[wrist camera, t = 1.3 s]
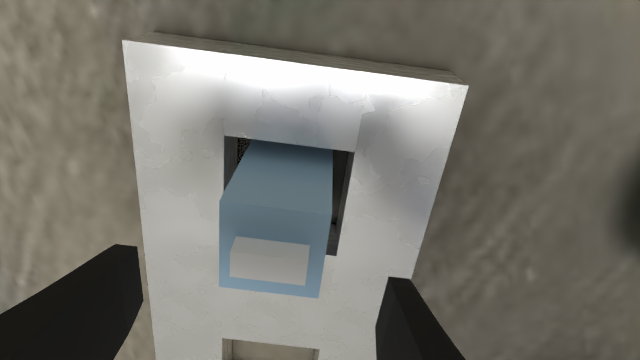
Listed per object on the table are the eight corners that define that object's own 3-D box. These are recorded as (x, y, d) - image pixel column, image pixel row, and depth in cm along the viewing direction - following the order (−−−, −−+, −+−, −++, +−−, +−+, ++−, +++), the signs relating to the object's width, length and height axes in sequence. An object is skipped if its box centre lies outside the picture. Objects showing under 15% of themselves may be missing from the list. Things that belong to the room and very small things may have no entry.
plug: (333, 142, 17) (331, 229, 11) (323, 209, 19) (317, 316, 13) (255, 132, 17) (211, 214, 11) (252, 200, 19) (212, 303, 13)
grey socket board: (449, 71, 16) (468, 85, 13) (358, 405, 26) (361, 445, 23) (152, 31, 15) (121, 39, 13) (178, 385, 25) (163, 424, 23)
